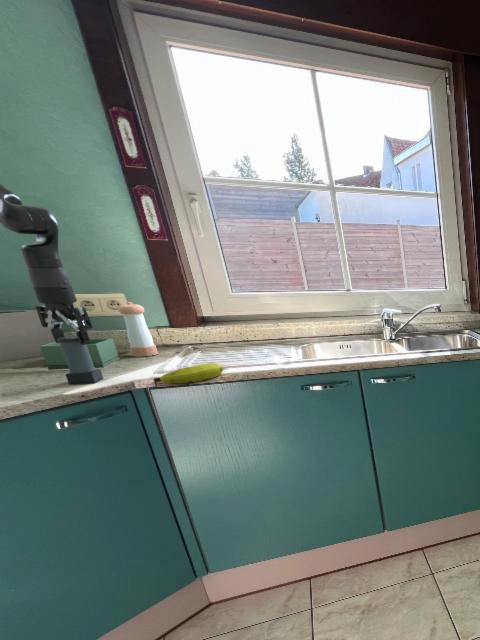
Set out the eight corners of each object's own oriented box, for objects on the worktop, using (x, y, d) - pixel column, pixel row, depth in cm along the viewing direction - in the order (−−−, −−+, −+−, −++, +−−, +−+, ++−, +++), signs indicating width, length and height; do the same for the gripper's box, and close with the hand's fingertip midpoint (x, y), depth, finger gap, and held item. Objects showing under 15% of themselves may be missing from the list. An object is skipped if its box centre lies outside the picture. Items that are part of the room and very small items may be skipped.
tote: (48, 369, 158) (39, 346, 155) (68, 361, 169) (60, 339, 166) (103, 367, 163) (96, 344, 161) (119, 359, 175) (112, 338, 172)
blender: (68, 384, 142) (52, 339, 138) (78, 380, 147) (62, 336, 143) (95, 383, 145) (79, 338, 140) (103, 378, 150) (88, 335, 145)
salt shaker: (139, 353, 185) (123, 301, 178) (162, 353, 187) (147, 301, 180) (127, 357, 179) (110, 302, 172) (151, 356, 180) (135, 303, 173)
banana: (228, 358, 162) (180, 366, 160) (196, 366, 146) (142, 374, 144) (234, 372, 163) (186, 379, 162) (202, 381, 147) (149, 389, 146)
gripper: (14, 284, 134) (37, 344, 140) (57, 286, 132) (79, 347, 138) (47, 283, 141) (68, 340, 147) (88, 285, 139) (108, 343, 144)
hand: (73, 343), depth 142 cm, fingers open, 8 cm apart
